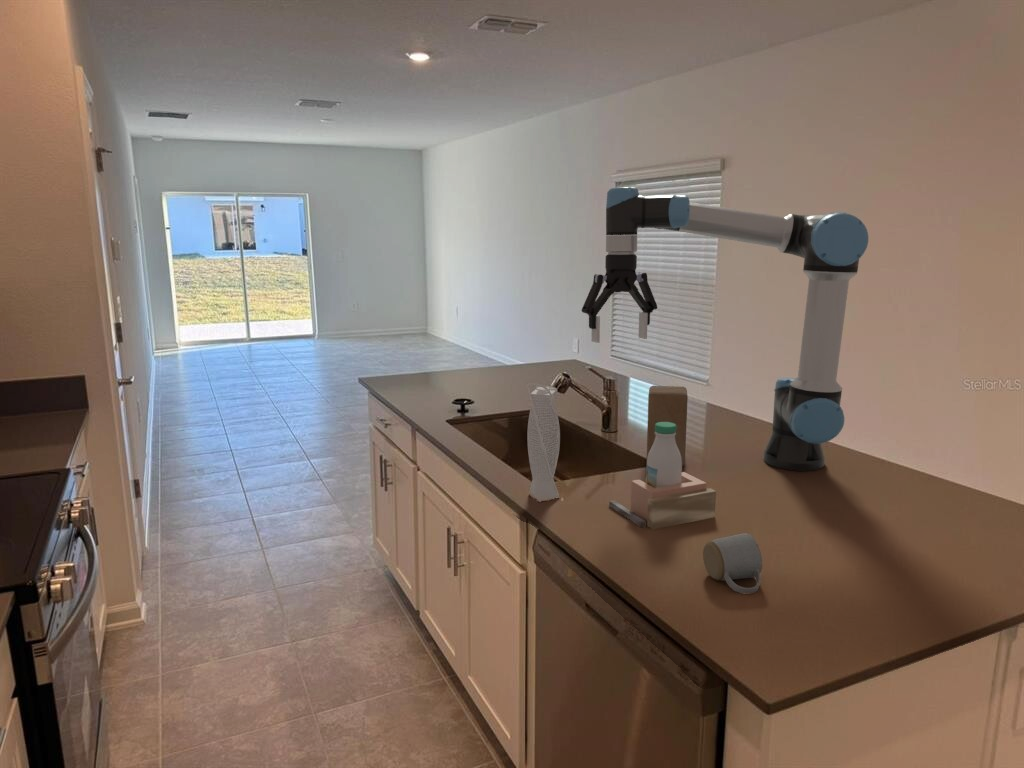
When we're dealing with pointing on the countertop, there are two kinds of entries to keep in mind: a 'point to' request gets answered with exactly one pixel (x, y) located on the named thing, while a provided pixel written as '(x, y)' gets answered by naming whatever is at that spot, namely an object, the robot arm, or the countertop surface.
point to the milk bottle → (664, 458)
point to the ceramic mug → (734, 560)
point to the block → (668, 413)
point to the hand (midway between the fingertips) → (619, 340)
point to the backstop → (674, 509)
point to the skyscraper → (543, 441)
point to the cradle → (660, 492)
